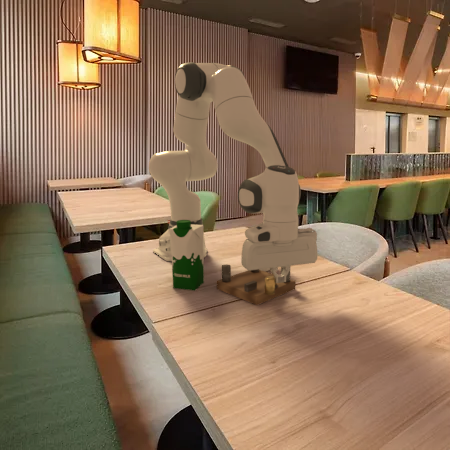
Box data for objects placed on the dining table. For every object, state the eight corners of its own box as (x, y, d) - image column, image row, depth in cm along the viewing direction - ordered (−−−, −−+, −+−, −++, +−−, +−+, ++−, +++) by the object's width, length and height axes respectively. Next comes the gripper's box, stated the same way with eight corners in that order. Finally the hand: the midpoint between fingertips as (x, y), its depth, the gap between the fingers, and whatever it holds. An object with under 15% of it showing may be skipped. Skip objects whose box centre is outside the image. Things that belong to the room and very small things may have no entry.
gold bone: (266, 282, 108) (267, 268, 107) (277, 283, 107) (277, 269, 106) (264, 294, 100) (264, 279, 99) (274, 295, 99) (275, 280, 98)
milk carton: (168, 289, 112) (165, 221, 108) (182, 278, 121) (179, 216, 116) (196, 292, 109) (194, 223, 105) (208, 281, 118) (206, 217, 114)
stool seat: (216, 288, 112) (216, 265, 110) (254, 275, 122) (254, 254, 121) (256, 305, 100) (257, 279, 99) (295, 289, 111) (295, 266, 109)
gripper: (310, 224, 104) (309, 273, 107) (239, 231, 98) (239, 282, 101) (323, 229, 98) (321, 281, 101) (247, 236, 92) (247, 291, 95)
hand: (279, 282), depth 101 cm, fingers closed
